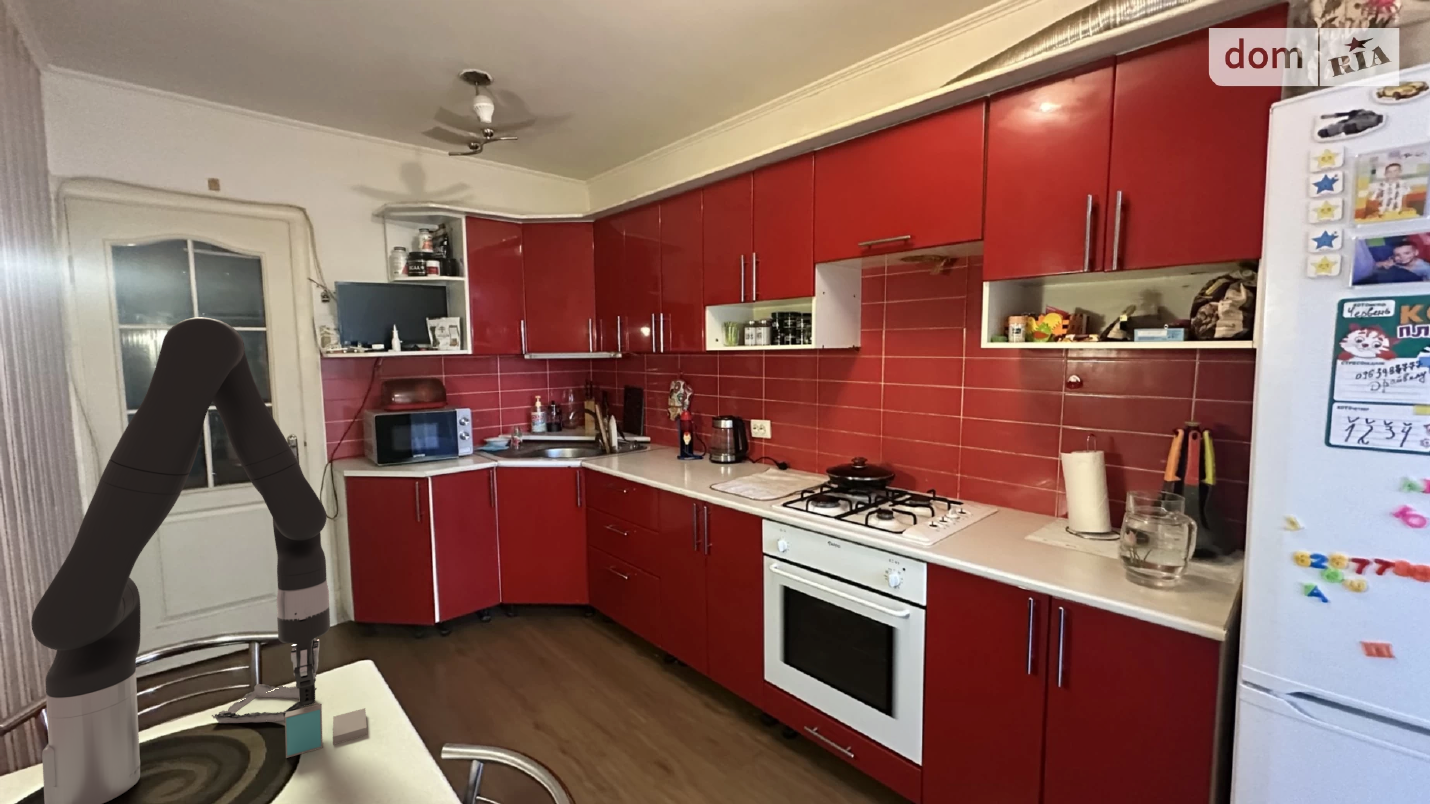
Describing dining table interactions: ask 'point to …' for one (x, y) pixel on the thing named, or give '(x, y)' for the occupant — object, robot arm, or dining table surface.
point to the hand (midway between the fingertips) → (307, 703)
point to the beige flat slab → (303, 730)
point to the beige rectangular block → (349, 726)
